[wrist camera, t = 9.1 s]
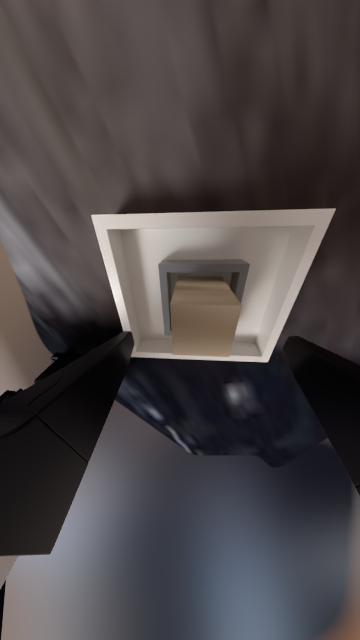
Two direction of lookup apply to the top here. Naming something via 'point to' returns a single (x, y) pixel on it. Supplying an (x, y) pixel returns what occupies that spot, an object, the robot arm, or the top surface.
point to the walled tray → (209, 270)
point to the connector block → (203, 316)
